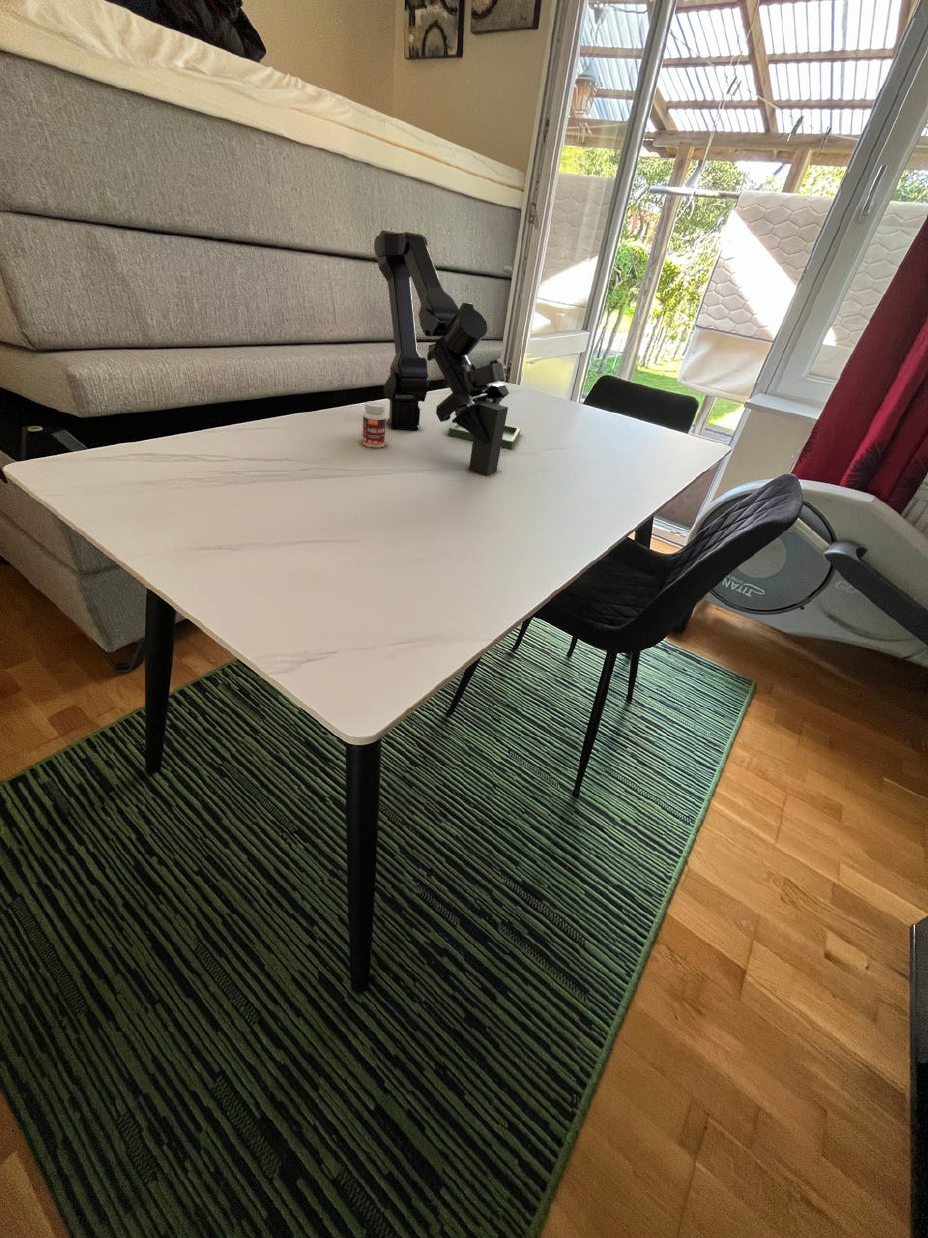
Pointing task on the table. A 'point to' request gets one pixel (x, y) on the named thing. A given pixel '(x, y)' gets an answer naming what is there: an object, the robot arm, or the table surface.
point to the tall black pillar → (488, 454)
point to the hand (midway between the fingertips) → (493, 440)
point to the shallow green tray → (507, 440)
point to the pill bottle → (374, 424)
